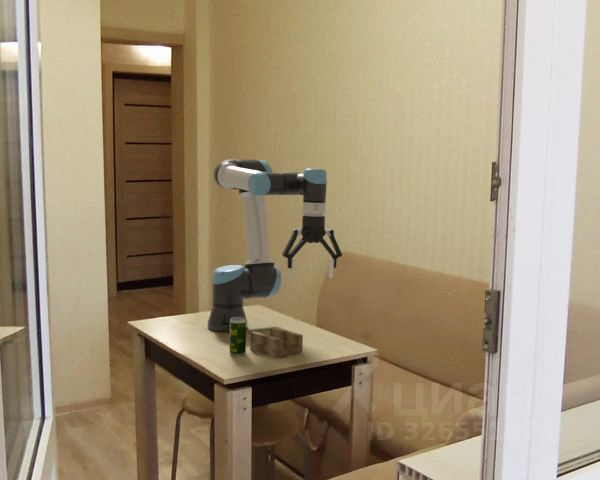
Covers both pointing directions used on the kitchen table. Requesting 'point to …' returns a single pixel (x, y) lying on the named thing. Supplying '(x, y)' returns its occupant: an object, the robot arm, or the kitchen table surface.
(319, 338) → the kitchen table surface
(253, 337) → the slot block
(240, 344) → the beer can
